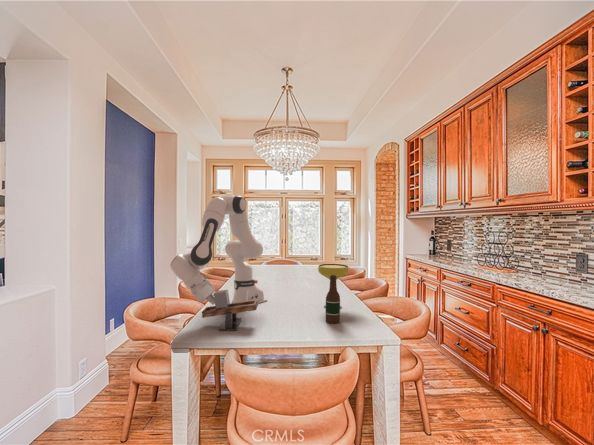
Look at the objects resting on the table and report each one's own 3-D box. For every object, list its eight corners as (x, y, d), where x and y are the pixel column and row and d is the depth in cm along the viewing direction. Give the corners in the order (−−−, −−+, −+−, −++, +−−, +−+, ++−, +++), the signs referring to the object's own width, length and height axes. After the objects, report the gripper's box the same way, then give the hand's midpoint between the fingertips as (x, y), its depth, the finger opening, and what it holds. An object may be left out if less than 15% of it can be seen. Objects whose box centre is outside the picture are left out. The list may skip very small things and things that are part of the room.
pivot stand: (219, 330, 157) (219, 314, 157) (226, 319, 174) (226, 304, 174) (236, 330, 158) (236, 314, 157) (241, 320, 174) (241, 304, 174)
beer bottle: (327, 324, 169) (328, 277, 169) (323, 319, 176) (323, 274, 176) (342, 323, 170) (342, 276, 170) (337, 318, 178) (338, 274, 178)
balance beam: (202, 319, 160) (201, 312, 160) (207, 313, 171) (207, 306, 171) (256, 311, 161) (255, 304, 161) (258, 305, 171) (257, 299, 171)
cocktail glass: (349, 311, 192) (350, 268, 192) (318, 311, 193) (318, 267, 192) (345, 303, 210) (346, 264, 210) (317, 303, 211) (317, 263, 210)
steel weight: (216, 311, 163) (213, 293, 163) (218, 308, 168) (216, 291, 168) (228, 309, 163) (225, 291, 163) (230, 307, 168) (227, 289, 168)
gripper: (194, 282, 155) (214, 304, 155) (206, 275, 175) (224, 294, 175) (184, 291, 155) (204, 313, 155) (197, 283, 176) (215, 302, 175)
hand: (215, 303), depth 165 cm, fingers closed, pressing on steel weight
